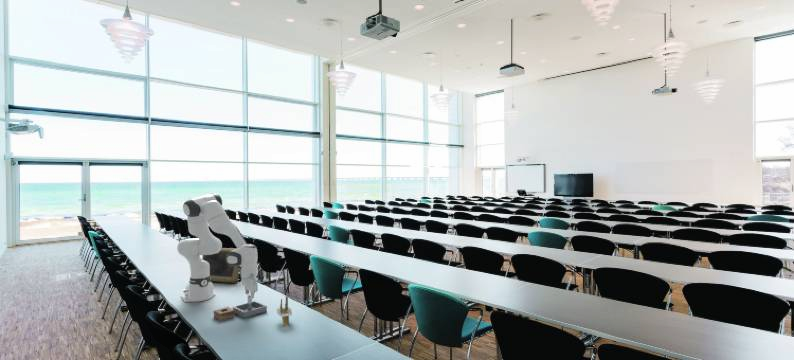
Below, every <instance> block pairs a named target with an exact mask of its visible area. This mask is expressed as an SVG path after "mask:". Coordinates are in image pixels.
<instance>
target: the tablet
mask: <svg viewBox="0 0 794 360" xmlns="http://www.w3.org/2000/svg"><path fill="white" fill-rule="evenodd" d="M235 249H236V248H233V247H229V248H227V247H222V248H221V250H220V252H219V253H216V254H212V255H202V257H201V259H202V260H205V261H207V262H208V263H209V265H210V276H211V281H210V282H212V283H213V282H214V283H216V282H217V283H223V284H224V283H227V284H237V283H238V281H241V273H240V266H236V267H231V266H229V265H228V264H227V262H226V255H227V253H228V252H230V251H232V250H235Z"/></svg>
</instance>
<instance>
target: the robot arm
mask: <svg viewBox="0 0 794 360" xmlns="http://www.w3.org/2000/svg"><path fill="white" fill-rule="evenodd" d="M182 208H183V209H182V210H183V213H184V214H185V215H186V217H187V219H186V220H187V227H188V229H187V230H188V232H189V234H190V235H192V236H193V238H186V239H181V240H180V241H179V242H178V244H177V248H176V249H177V252H178V254H179V255H180V256H182V257H183V258H184V259H185V260H186V261H187V263H188V264H189V271H190V277H189V280H188V282H189V283H188V284H187V285H186V286H185V288H184V289H183V291H182V292H183V294H181V296H180V298H181V299H182V300H183V301H184V303H188V302H189V303H190V302H192V303H193V302H203V301H208V300H211V299H212V298H213V297H214V296H216V292H214V285H213V282H212V281H211V276H210V265H209V263H208V262H207V261H205V260H202V259H203V258H202V257H200V256H203V255H212V254H216V253H219V252H220V250H221V248H223V243H222V241H221V240H220V238H218V237H216V236H214V234H213V233H212V232H211V231H210V229H211V230H212V231H213V232H214V233H215V234H216V233H217V234H219V235H220V234H221V235H225V236H227V237H229V238H230V239H231V241H232V242H233V244H234V245H235V247H236V248H235V250H232V251H230V252H228V253H227V255H226V262H227V264H228V265H229V266H231V267H236V266H239V267H240V268H241V269H239V273H241V280H240V281H241V285H242V286H243V287H244V290H245V293H244V294H246V295H249V294H250V298H251V299H252V300H253V299H255V294H256V293H257V292H258V290H259V289H258V288H259V286H258V278H257V277H256V276H258V275H259V274H258V273H259V271H258V270H259V269H258V256H259V255H258V249H257V246H256V245H255V244H252V243H247V242H248V241H247V240H246V239H245V237H244V236H243V234H242V233H241V231H240V230H239V228H238V226H236V225H235V224H234V223H233V222H232V221H231V219H230V218H229V216H228V214H227V211H225V209H224V207H223V200H222V197H221V196H220V194H218V193H210V194H206V195H205V194H204V195H200V196H198V197H195V198H192V199H188V200H186V201H185V202H184V203H183V205H182ZM209 227H210V228H209ZM194 237H195V238H194Z"/></svg>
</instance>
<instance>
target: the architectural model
mask: <svg viewBox="0 0 794 360" xmlns="http://www.w3.org/2000/svg"><path fill="white" fill-rule="evenodd" d="M276 314H277V315H278V317H281V320H282V327H290V325H289V324H290V321H289V320H290V316H293V311H292V308H291V307H289V296H287V295H286V296H285V306H284V307H283V298H282V299H280V304H279V307H278V308H276Z"/></svg>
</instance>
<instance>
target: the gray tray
mask: <svg viewBox="0 0 794 360" xmlns="http://www.w3.org/2000/svg"><path fill="white" fill-rule="evenodd" d="M232 309H234V310H235V316H238V317H240V318H242V319H243V320H244V319H245V320H246V319H249V318H251V317H252V318H253V317H255V316H258V315H262V314H265V313H267V312H268V310H267V309H268V306H267V305H266V304H263V303H261V302H258V301H256V300H252V310H249V311H248V302H245V303H241V304H237V305H234V306H232Z"/></svg>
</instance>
